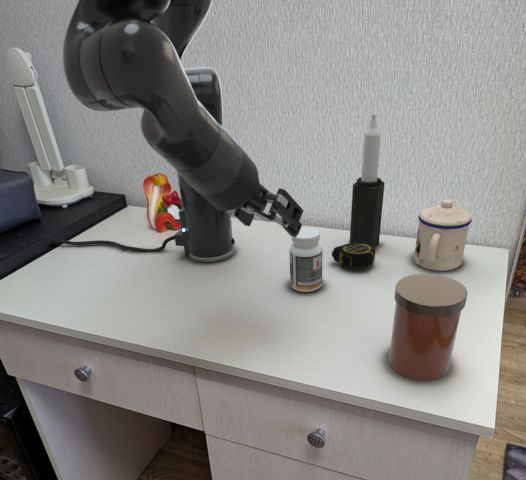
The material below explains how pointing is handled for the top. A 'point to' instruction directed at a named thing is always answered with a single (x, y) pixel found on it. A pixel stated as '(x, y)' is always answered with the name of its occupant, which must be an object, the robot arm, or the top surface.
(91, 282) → the top surface
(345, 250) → the tape measure
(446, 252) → the teacup with lid
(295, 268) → the pill bottle
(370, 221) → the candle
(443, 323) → the jar
